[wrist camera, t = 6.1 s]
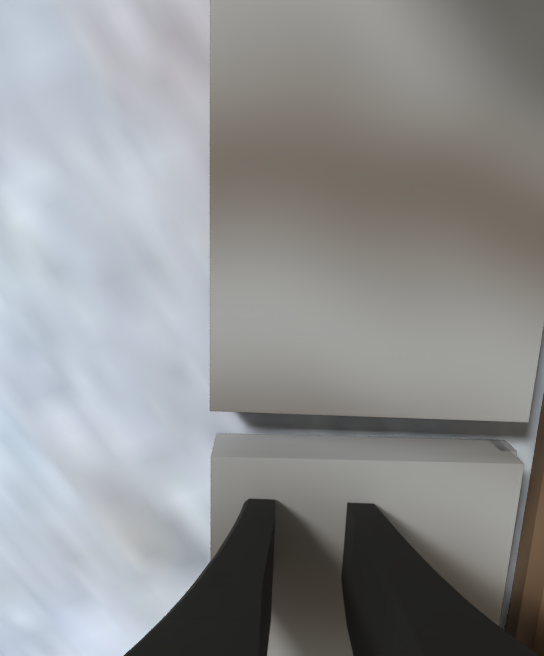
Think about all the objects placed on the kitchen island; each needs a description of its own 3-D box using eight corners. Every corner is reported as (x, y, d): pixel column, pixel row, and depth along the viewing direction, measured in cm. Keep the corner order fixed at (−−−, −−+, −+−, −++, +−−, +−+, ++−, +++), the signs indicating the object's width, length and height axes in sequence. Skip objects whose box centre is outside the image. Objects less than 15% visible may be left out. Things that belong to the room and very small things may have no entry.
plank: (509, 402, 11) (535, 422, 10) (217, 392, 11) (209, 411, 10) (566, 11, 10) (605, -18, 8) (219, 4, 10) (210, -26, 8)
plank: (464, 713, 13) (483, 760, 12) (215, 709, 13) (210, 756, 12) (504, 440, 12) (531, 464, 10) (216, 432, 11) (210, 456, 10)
